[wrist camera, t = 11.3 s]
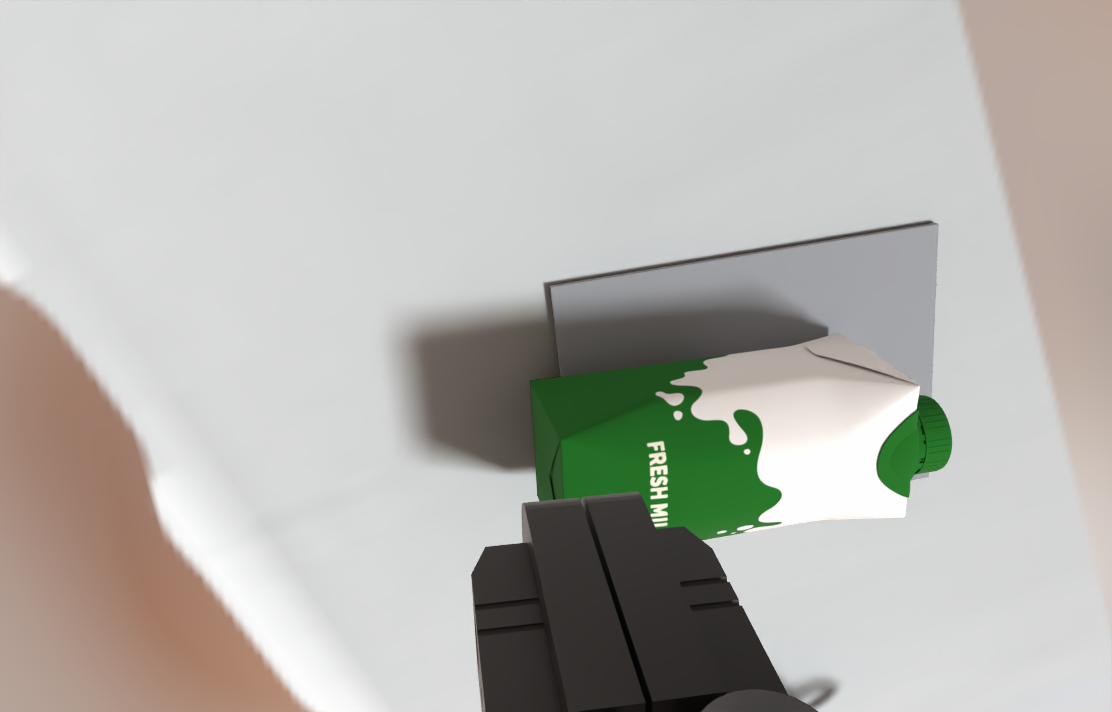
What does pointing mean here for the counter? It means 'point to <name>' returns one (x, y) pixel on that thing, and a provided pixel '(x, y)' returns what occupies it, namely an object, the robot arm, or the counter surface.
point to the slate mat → (760, 305)
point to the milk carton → (742, 437)
